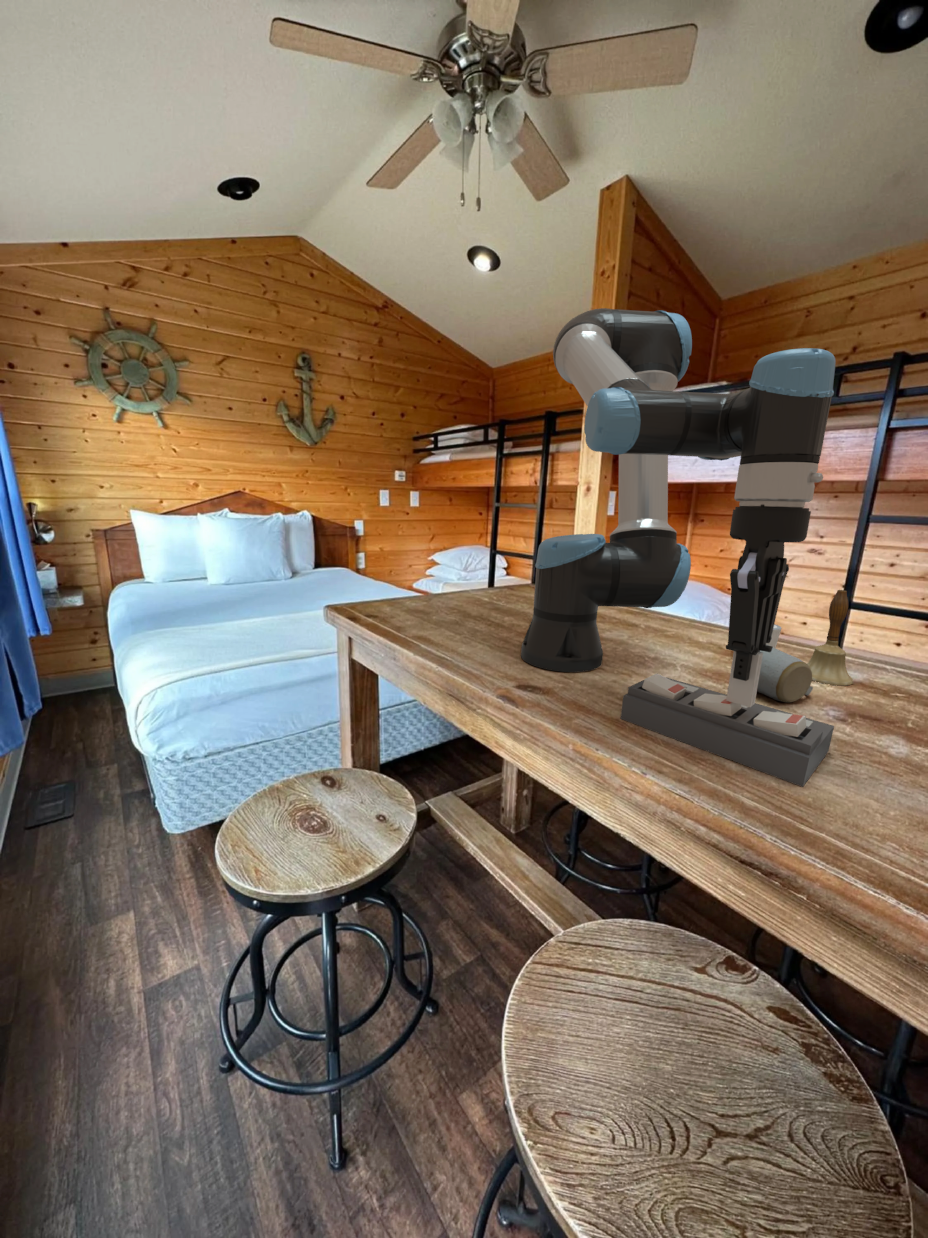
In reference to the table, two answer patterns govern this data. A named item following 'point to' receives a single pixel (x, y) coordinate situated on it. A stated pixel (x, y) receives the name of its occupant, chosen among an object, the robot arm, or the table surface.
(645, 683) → the rocker
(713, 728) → the rocker switch box
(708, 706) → the middle rocker
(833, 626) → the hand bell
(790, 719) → the rocker
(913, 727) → the table surface
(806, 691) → the ceramic mug
